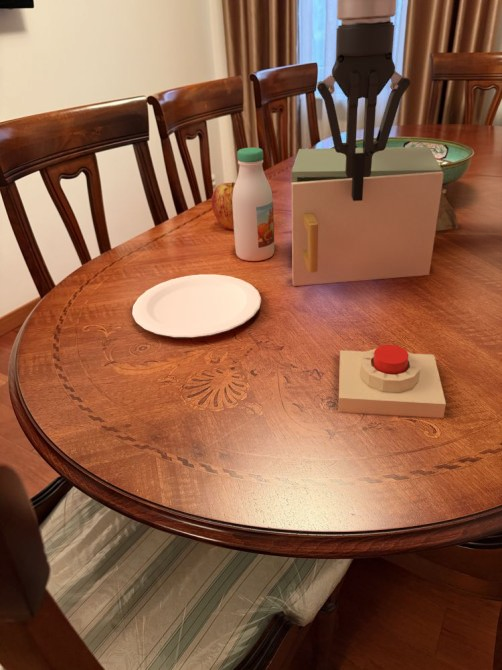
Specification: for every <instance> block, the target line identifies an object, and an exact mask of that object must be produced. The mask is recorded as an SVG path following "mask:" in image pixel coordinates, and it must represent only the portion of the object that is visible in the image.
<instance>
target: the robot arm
mask: <svg viewBox="0 0 502 670" xmlns="http://www.w3.org/2000/svg"><path fill="white" fill-rule="evenodd" d="M336 2H337V4H336V19H337V20H338V21H340V22H341V24H340V25H338V26H337V27H336V38H335V39H336V40H335V41H336V42H335V62H334V64H333V67H332V69H331V74H330V75H328V76H327V77H326V78H324V79H323V80H319V81H318V82H317V83H316V90H317V91H318V93H319V94H320V96H321V97H322V99H323V103H324V106H325V111H326V114H327V120H328V124H329V129H330V135H331V139H332V143H333V147H334V148H335V150H336V152H338V153H342V154H345V155H346V169H345V173H346V175H347V178H352V195H351V196H352V199H353V201H362V198H363V180H364V177H370V175H371V166H372V156H373V154H374V153H376V152H378V151H383V150H384V149H385V147H387V144H388V142H389V141H388V140H389V138H390V134H391V131H392V128H393V125H394V122H395V118H396V116H397V112H398V109H399V106H400V102H401V99H402V97H403V96H404V94H405V93H406V91H407V90H408V89H409V87H410V85H411V80H410V79H409V78H408V77H406V76H403V75H402V74H400V73H399V72H397V71H396V64H395V62H394V59H393V51H394V50H393V49H394V36H395V24H394V22H393V21H391V18H393V17H394V16H395V15H396V10H397V0H337V1H336ZM389 81H390V84H389V88H390V92H389V95H388V98H387V102H386V105H385V107H384V112H383V115H382V118H381V121H380V125H379V128H378V131H377V135H376V138H375V127H376V125H375V124H376V111H377V103H378V96H379V95H380V94H381V92H382V91H383V89H385V88H386V86H387V84H388V83H389ZM335 82H336V84H337V85H338V87H339V89H340V90H341V91H342V93H343V94H344V96H345V97H346V104H347V105H346V106H347V107H346V134H345V142H343V139H342V135H341V130H340V125H339V120H338V115H337V109H336V106H335V101H334V98H333V94H334V93H335ZM359 99H364V116H363V135H362V148H363V153H356V148H357V130H358V129H357V128H358V107H359ZM374 140H375V141H374Z"/></svg>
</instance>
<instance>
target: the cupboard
mask: <svg viewBox="0 0 502 670" xmlns="http://www.w3.org/2000/svg"><path fill="white" fill-rule="evenodd" d="M356 153H363V147H356ZM345 169H346V155H345V154H342V153H338V152H336V150H335V148H333V147H331V148H330V147H329V148H299V149H298V151H297V153H296V157H295V160H294V163H293V166H292V168H291V183H293V182H307V181H320V180H334V179H347V175H346V173H345ZM428 172H443V169H442V167H441V165H440V164H439V161H438V160H437V158H436V156H435V154H434V152H433V151H432V149H431V148H430V146H392V147H390V146H389V147H387V146H386V147H385V149H384V150H383V151H378V152H376V153H374V154H373V156H372V166H371V175H370V177H374V176H388V175H401V174H415V173H428Z"/></svg>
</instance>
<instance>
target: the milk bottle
mask: <svg viewBox="0 0 502 670" xmlns="http://www.w3.org/2000/svg"><path fill="white" fill-rule="evenodd" d="M236 156H237V164H238V165H239V168H238V174H237V177H236V180H235V182H236V183H235V186H234V189H233V197H232V203H233V222H234V230H233V236H234V245H235V246H234V249H235V254H236V256H237V258H238V259H241V260H243V261H248V262H259V261H265V260H267V259H270V258H271V257H272V256H274V254H275V219H274V218H275V217H274V198H273V191H272V188H271V185H270V183H269V181H268V179H267V177H266V175H265V171H264V167H263V163H264V150H263V149H262V148H260V147H244V148H240V149H238V151H237V153H236Z"/></svg>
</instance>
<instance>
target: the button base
mask: <svg viewBox="0 0 502 670" xmlns="http://www.w3.org/2000/svg"><path fill="white" fill-rule="evenodd" d="M377 348H378V347H376V348H372V349H369V350H367V351H366V350H365V351H364V350H360V351H359V350H345V349H344V350H341V349H340V350H339V365H338V366H339V367H338V368H339V371H338V405H337V406H338V409H337V410H338V413H349V414H351V413H352V414H367V415H384V416H386V415H387V416H399V417H400V416H401V417H403V416H404V417H420V418H435V419H444V417H445V413H446V405H447V402H446V397H445V393H444V390H443V385H442V382H441V381H442V380H441V377H440V374H439V373H440V372H439V369H438V364H437V361H436V356H435V354H431V353H414V352H413V353H411V352H410V351H407V352H408V355H409V357H408V364H407V369H406V371H405V372H404V373H401V374H397V375H393V374H385V373H382V372H380V371H377V370H376V369H375V368H374V366H373V361H374V352H375V350H376V349H377Z"/></svg>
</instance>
